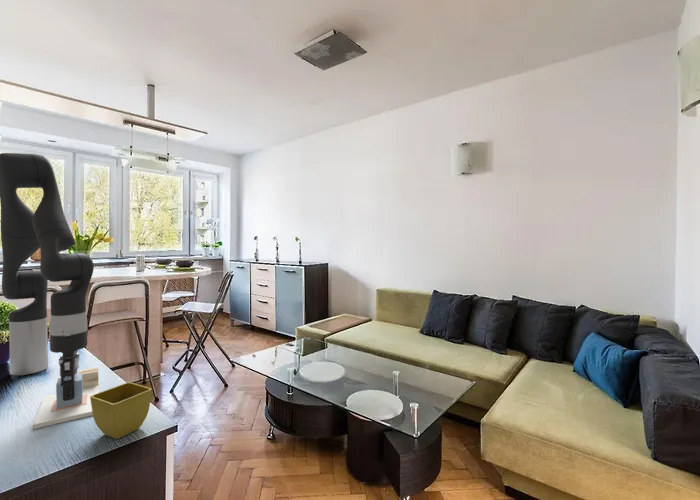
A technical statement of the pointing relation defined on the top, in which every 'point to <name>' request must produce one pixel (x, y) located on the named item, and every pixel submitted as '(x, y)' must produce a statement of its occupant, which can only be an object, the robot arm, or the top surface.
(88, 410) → the board
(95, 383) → the maple block
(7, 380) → the top surface
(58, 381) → the slate block
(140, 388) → the flower pot
